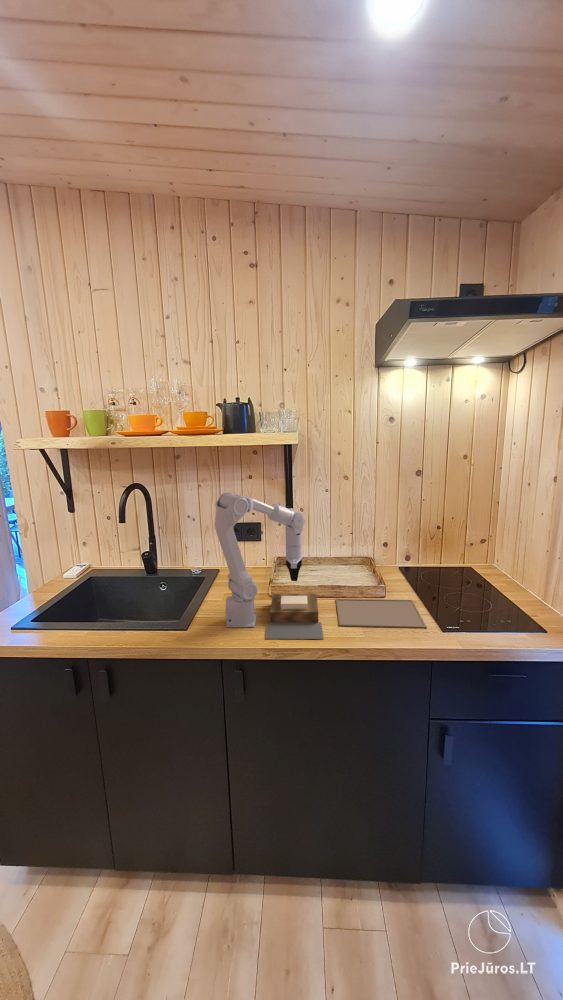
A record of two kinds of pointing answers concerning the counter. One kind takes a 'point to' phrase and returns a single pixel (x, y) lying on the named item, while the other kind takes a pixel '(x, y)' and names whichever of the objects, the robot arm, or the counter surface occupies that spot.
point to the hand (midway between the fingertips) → (294, 579)
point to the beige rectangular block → (294, 602)
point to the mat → (294, 630)
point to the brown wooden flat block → (294, 610)
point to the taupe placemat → (378, 613)
